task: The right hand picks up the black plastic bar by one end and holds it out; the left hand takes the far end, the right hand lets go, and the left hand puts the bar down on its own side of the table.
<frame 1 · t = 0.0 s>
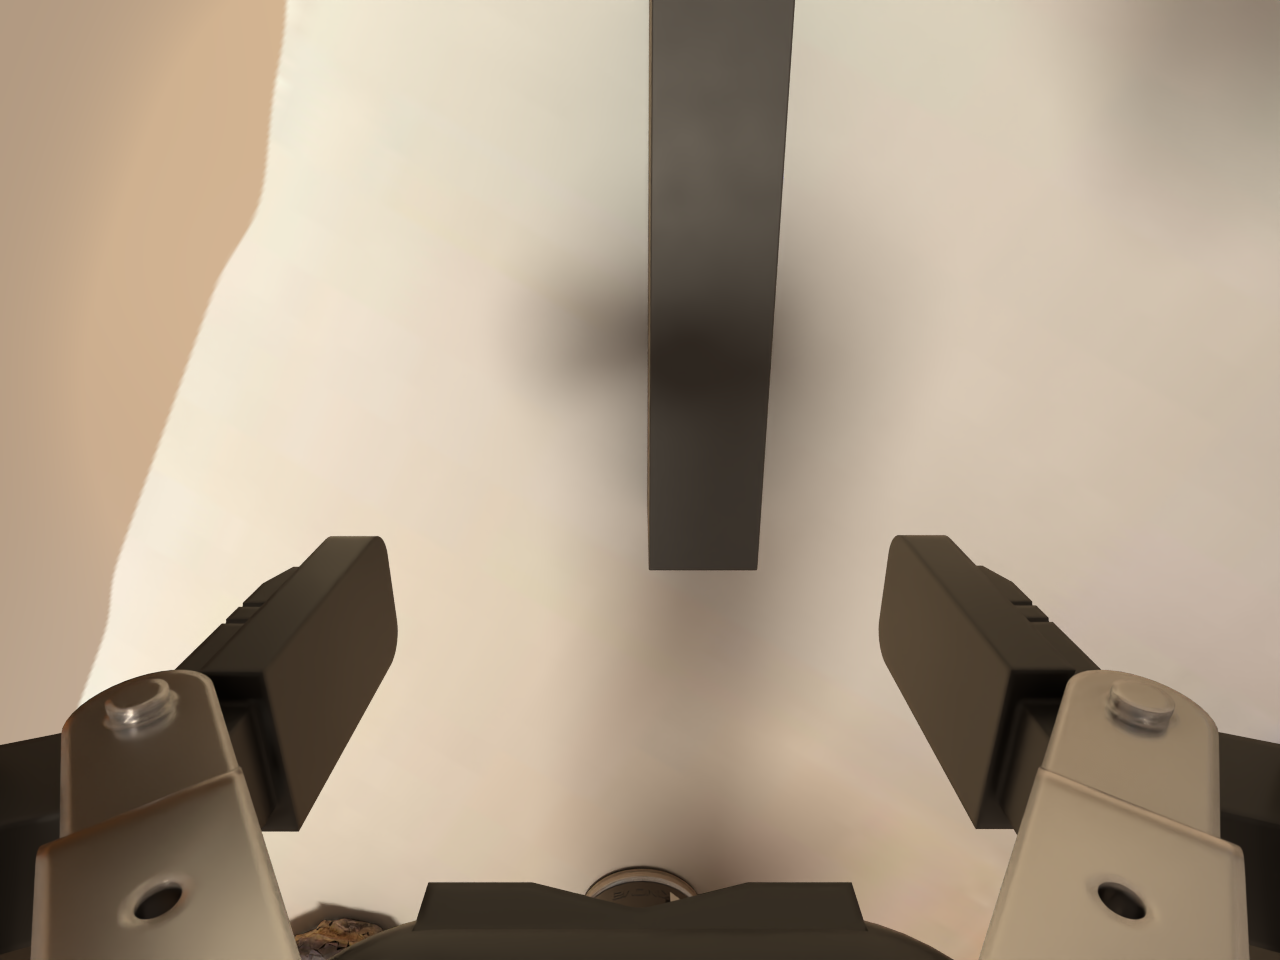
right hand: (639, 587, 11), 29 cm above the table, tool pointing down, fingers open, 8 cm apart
miniature building: (349, 959, 56), on the table
bar: (698, 277, 38), on the table
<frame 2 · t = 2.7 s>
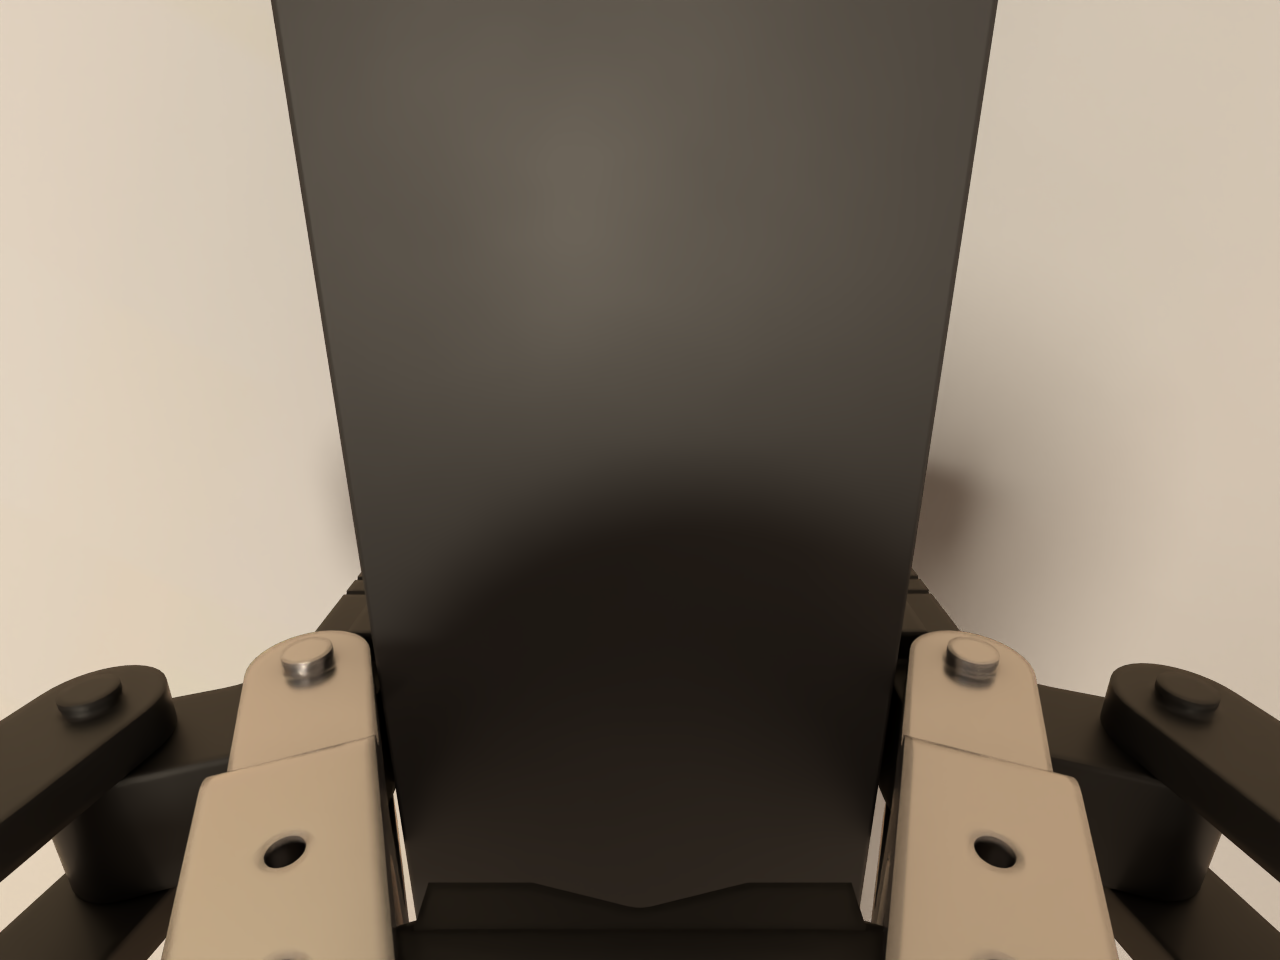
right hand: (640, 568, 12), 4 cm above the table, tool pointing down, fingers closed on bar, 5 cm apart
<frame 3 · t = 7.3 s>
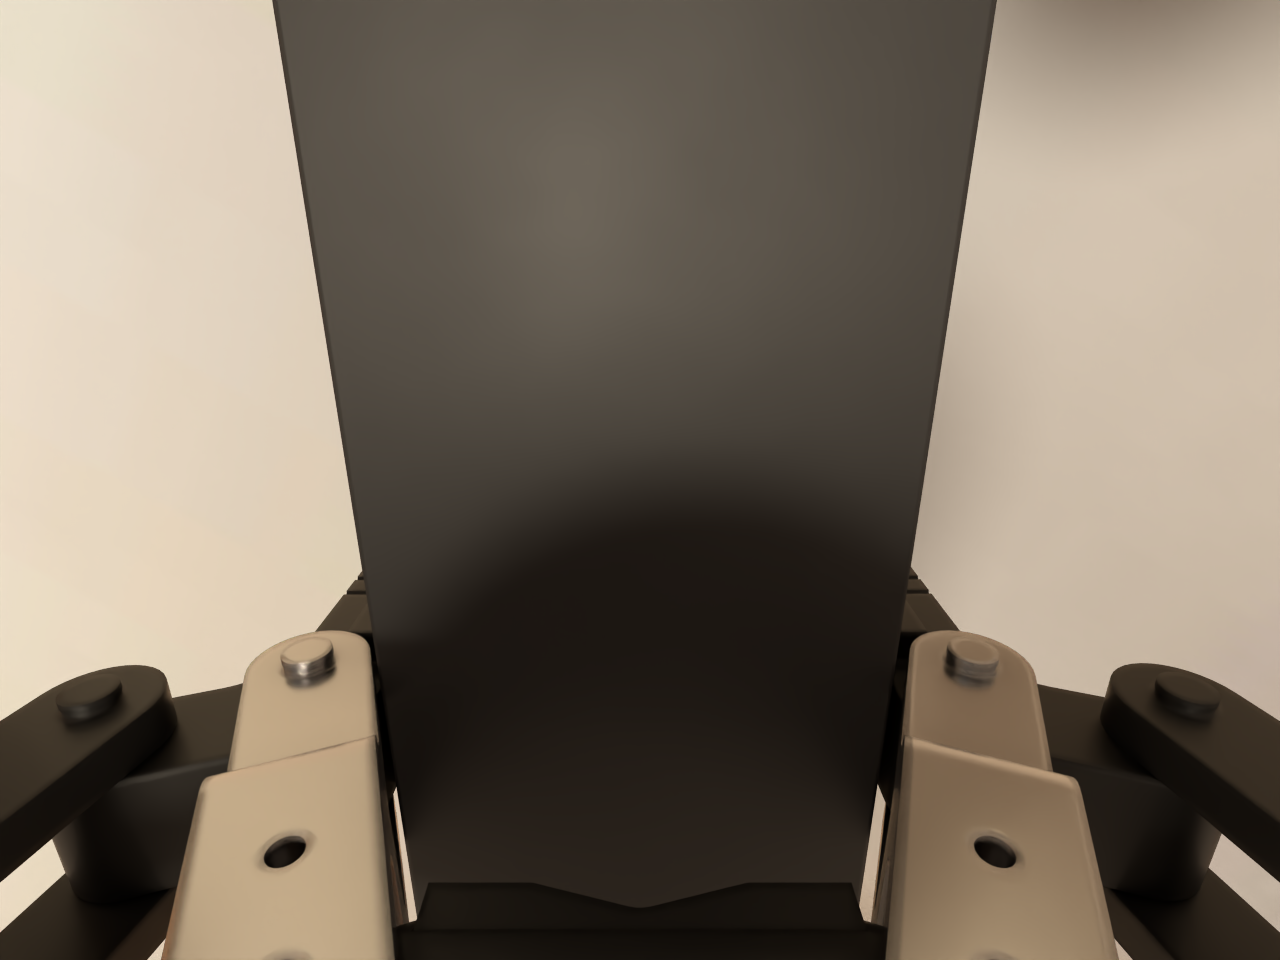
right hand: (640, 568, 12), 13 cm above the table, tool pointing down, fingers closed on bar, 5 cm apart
when the right hand's fingers open (13 cm above the table, at t = 8.5 s): bar stays where it is, held by the left hand.
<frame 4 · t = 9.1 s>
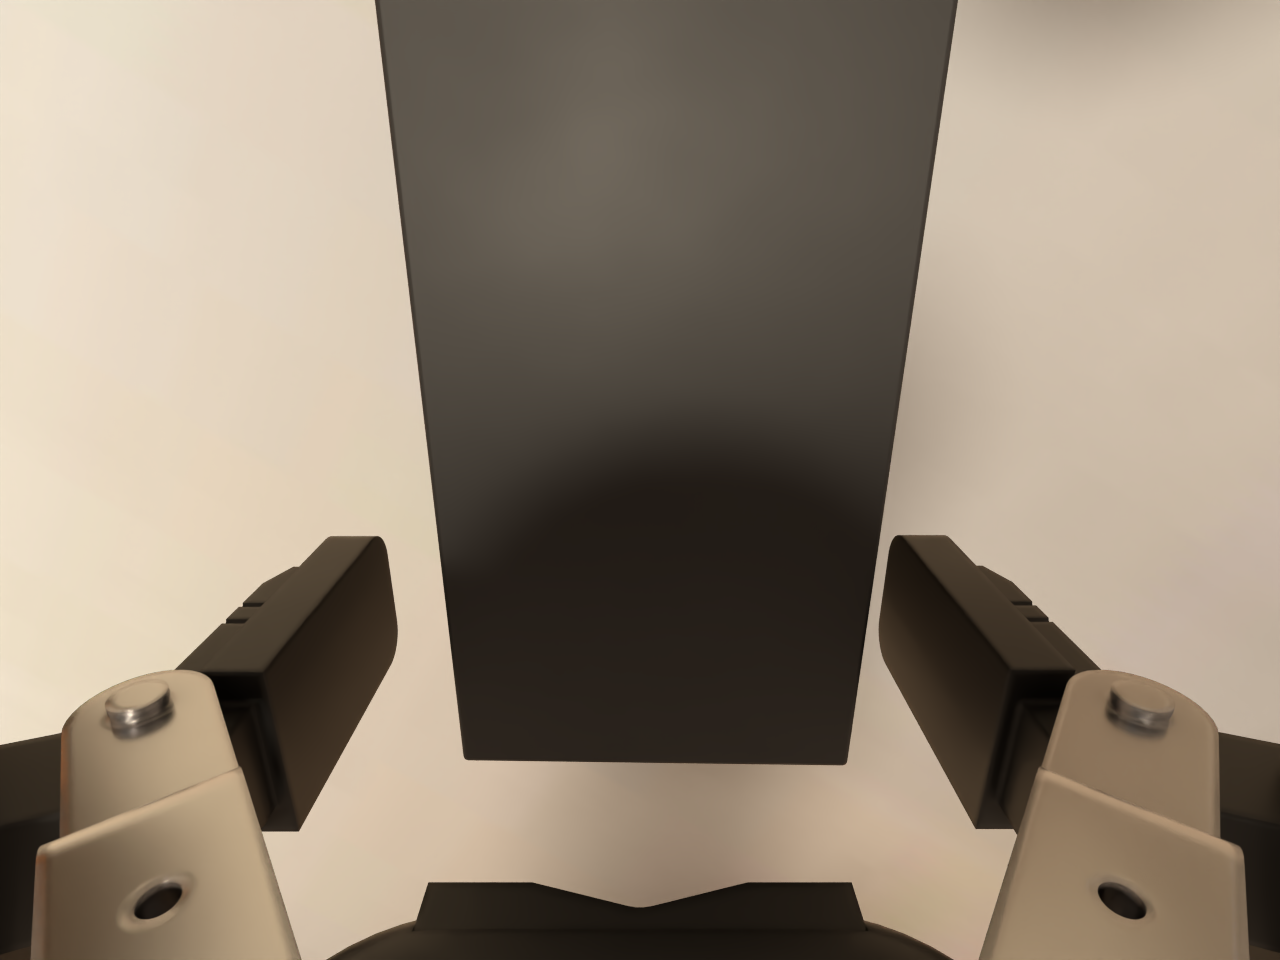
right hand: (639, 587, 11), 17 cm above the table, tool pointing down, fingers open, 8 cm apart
when the left hand's fingers open (4 cm above the table, at t = 12.7 s): bar stays where it is, on the table.
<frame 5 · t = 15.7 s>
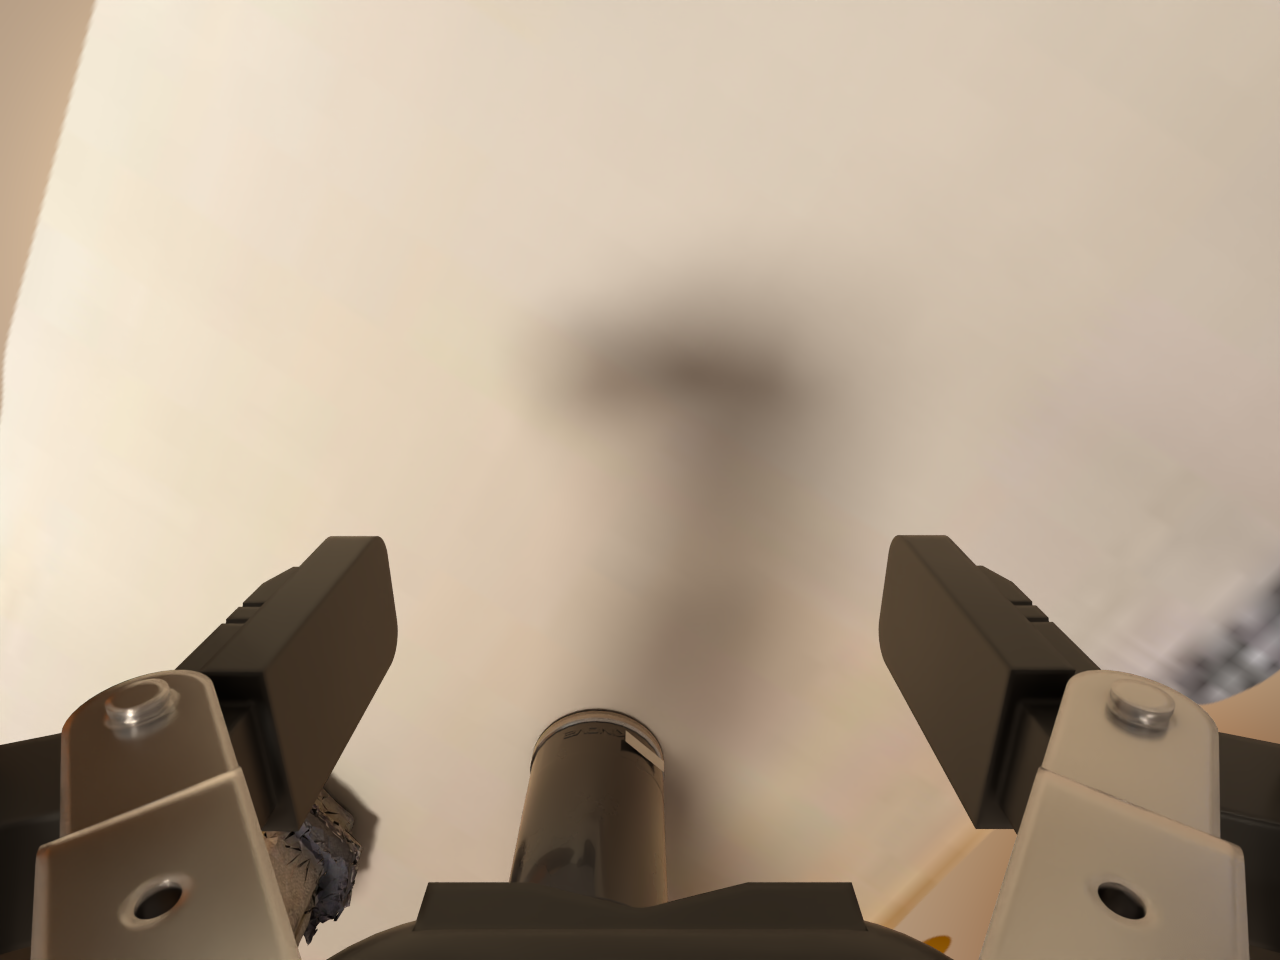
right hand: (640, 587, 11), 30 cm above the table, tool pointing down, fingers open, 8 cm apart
miniature building: (284, 820, 52), on the table
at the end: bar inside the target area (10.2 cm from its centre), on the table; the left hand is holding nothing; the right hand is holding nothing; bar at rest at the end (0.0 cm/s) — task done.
